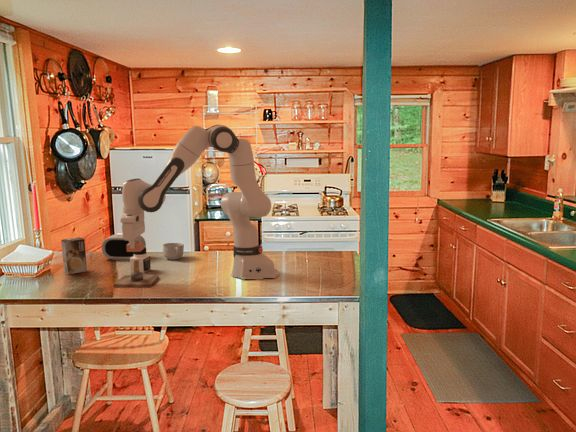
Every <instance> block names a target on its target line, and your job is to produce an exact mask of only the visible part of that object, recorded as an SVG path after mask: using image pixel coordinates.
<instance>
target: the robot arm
mask: <svg viewBox="0 0 576 432" xmlns="http://www.w3.org/2000/svg"><path fill="white" fill-rule="evenodd" d="M209 148H213V149H214V150H216V151H218V152H221V153H226V154H228V158H229V159H228V161H229V170H230V171H229V172H230V179H231V182H232V183H233V184H234V185H235V186H236V187H237V188H238V189H239V191H231V192H227V193H225V194H223V195H222V197H221V200H220V206H221V210H222V211H223V213H224V214H225V215H227V217H228V218H229V220H230V222H231V225H232V230H233V240H234V241H233V242H234V243H233V248H232V249H233V250H232V254H233V266H232V271H231V274H230V275H231V276H232V277H233V276H234V278H236V277H238V278H237V279H240V278H241V279H240V280H242V279H256V280H264V279H263V278H274V279H276V278H275V277H277V276H278V275H279V276H280V271H279V270H278V269H276V268H275V264H274V261H273V260H272V259H271V258H270V257H269V256H267V255H266V254H264V253H263V251H264V248H263V246H262V245H260V244H259V230H258V228H257V226H256V225H254V224H253V223H252V222H251V220H250V218H262V217H267V216H268V215H269V214H270V212H271V210H272V202H271V201H272V200H271V199H270V198H269V196H268V195H266V193H264V191H263V190H262V189H261V187H260V185H259V183H258V180H257V178H256V177H257V175H256V170H255V160H254V159H255V158H254V153H253V148H252V145H251V143H250V141H249V140H248V139H246V138H238V137H237V136H236V134H235V132H234V131H233V130H232V129H231V128H230V127H228V126H226V125H223V124H215V125H212V126H210V127H208V128H206V129H205V128H203V127H202V126H198V125H195V126H192V127H190V128H189V129H188V130H187V131H186V132H185V133H184V134H183V135H182V136H181V137H180V139H179V141H178V142H177V143H176V145H175V146H174V148H173V150H172V151H171V154H170V156H169V158H168V161H167V163H166V164H165V167H164V169H163V170H162V172H160V174H159V176H158V177H157V178H156V179H155V181H154V182H153V184H151V183H148V182H146V181H144V180H142V179H141V178H132V179H128V180H126V181H124V183H123V184H122V188H121V189H122V193H121V195H122V196H121V197H122V202H123V207H122V212H123V213H122V216H121V217H120V223H121V229H122V231H121V233H123V238H124V240H125V241H129V243H130V248H131V249H134V248H135V244H134V239H135V238H136V241H135V242H140V239H141V236H142V234H144V233H145V230H146V226H145V225H146V224H145V212H146V213H156V212H157V211H159V210H160V209H161V208H162V206H163V204H164V203H165V201H166V193H167V192H168V190H169V189H170V187H171V186H172V185H173V183H175V181H176V180H177V178H179V176H181V174H183V173H184V172H186V171H187V170H189V169H190V168H191V167H193V165H194V164H195V163H197V161H198V160H199V158H200V157H201V156H202V154H203V152H205V151H206V150H207V149H209ZM279 276H278V277H279ZM278 277H277V278H278Z"/></svg>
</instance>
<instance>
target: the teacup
mask: <svg viewBox="0 0 576 432" xmlns="http://www.w3.org/2000/svg"><path fill="white" fill-rule="evenodd" d="M184 245H185V244H184V243H180V242H167V243H163V244H162V246H163V247H162V248H163V249H162V251H163V253H162V254H163V256H164V257H165V258H166V260H170V261H172V260H173V261H176V260H180V259H181V258H182V257H183V255H184Z"/></svg>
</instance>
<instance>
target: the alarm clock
mask: <svg viewBox="0 0 576 432" xmlns="http://www.w3.org/2000/svg"><path fill="white" fill-rule="evenodd" d="M135 241H136V238H135V239H134V242H135ZM140 242H143V243H144V247H146V248H147V244H146V240H145V238H144V237H143V236H142V235H141V239H140ZM101 243H102V244H101V252H102V254H103V256H104V257H105V258H107V259H110V260H111V261H130V258H131V257H133V256H134V255H133V252H127V247H126V245H127V244H129V241H125V240H124V238H123V233H122V232H120V233H119V232H118V233H115V234H112V235H110V236H108V237H107V238H105V239H104V240H103V241H102V242H101Z"/></svg>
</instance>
